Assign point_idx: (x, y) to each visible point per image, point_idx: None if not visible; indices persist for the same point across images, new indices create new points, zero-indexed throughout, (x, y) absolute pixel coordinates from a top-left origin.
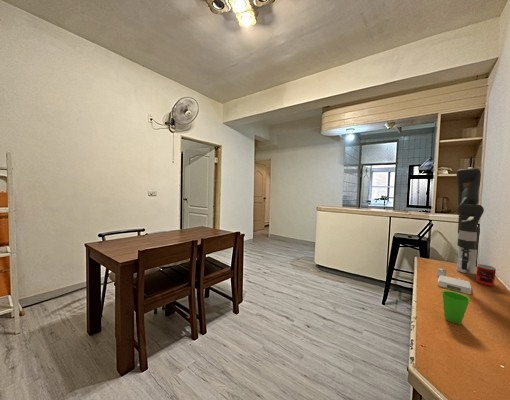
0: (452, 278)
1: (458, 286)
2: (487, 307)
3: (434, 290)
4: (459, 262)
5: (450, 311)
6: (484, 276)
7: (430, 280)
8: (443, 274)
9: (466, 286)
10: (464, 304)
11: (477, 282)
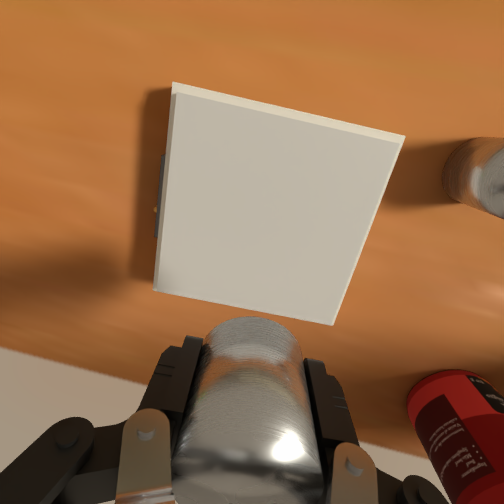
0: (342, 230)
1: (164, 228)
2: (2, 298)
3: (23, 34)
4: (235, 380)
5: None
6: (443, 441)
7: (299, 45)
8: (464, 185)
9: (186, 279)
10: None
11: (446, 372)
